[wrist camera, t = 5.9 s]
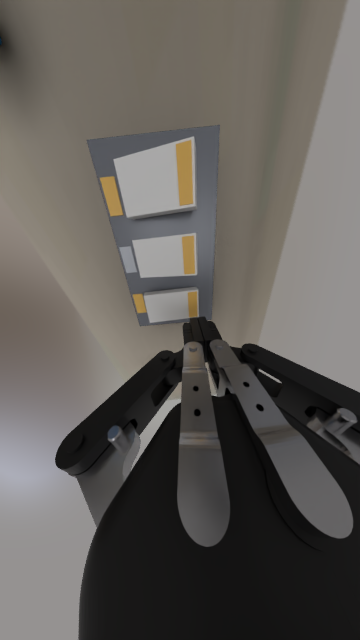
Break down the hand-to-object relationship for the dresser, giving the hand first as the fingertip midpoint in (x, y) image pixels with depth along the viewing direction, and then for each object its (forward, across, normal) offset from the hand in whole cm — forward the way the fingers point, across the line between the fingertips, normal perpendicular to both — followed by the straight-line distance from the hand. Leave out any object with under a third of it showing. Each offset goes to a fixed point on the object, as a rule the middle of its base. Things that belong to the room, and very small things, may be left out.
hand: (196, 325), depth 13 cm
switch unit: (+11, +2, -6) cm, 13 cm away
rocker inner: (+6, +2, -12) cm, 13 cm away
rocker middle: (+6, +2, -6) cm, 9 cm away
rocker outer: (+6, +2, 0) cm, 7 cm away
